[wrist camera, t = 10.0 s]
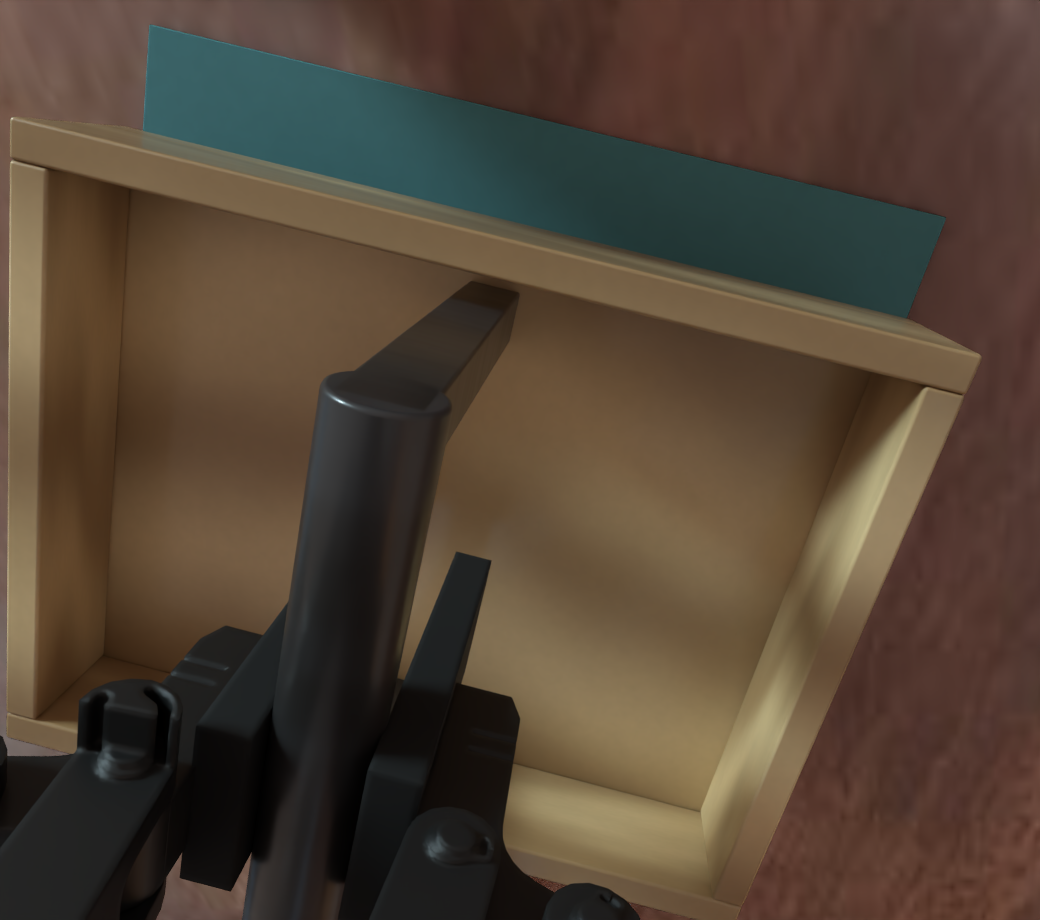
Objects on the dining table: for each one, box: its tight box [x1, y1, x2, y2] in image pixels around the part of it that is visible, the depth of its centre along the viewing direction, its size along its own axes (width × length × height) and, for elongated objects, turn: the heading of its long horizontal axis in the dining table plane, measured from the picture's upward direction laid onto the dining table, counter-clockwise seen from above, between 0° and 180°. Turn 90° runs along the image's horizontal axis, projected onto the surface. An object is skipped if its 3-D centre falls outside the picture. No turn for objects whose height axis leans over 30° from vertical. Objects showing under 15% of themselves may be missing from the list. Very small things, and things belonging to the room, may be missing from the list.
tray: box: [7, 117, 982, 920], centre depth 16 cm, size 15×19×11 cm
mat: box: [143, 25, 946, 318], centre depth 24 cm, size 20×21×1 cm
